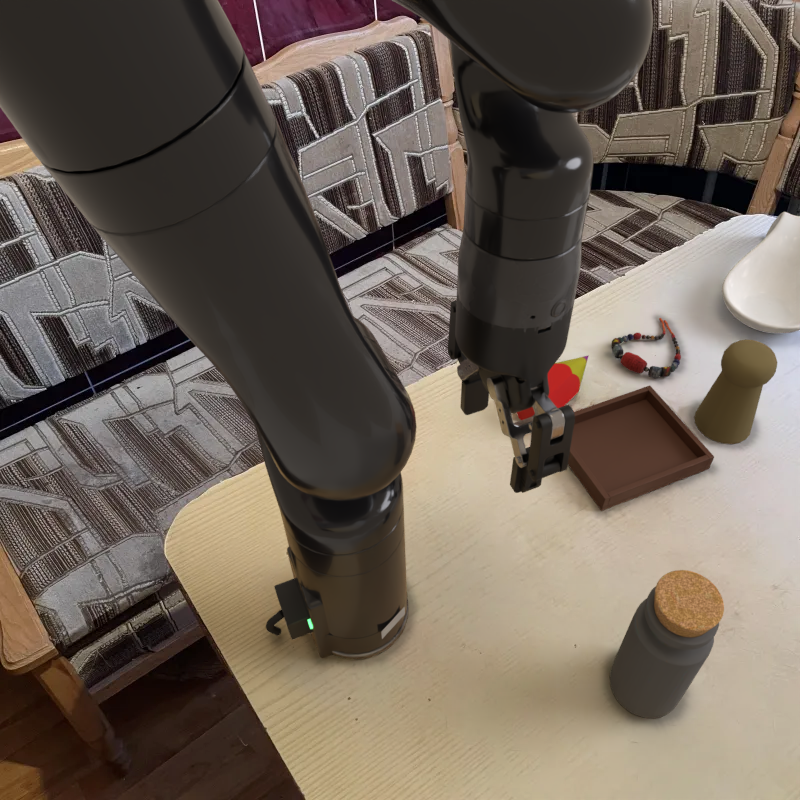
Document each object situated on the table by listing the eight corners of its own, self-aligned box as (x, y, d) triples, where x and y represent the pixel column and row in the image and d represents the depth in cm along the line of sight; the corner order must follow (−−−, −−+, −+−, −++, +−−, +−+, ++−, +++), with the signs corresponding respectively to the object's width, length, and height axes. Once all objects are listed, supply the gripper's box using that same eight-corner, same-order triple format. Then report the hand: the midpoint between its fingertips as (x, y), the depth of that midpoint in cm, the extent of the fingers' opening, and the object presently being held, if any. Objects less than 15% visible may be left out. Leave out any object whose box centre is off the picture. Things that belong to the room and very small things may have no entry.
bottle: (681, 725, 62) (737, 645, 51) (608, 711, 63) (647, 629, 52) (678, 657, 66) (729, 569, 55) (609, 645, 67) (646, 556, 55)
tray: (601, 511, 76) (605, 499, 75) (544, 433, 83) (547, 420, 82) (709, 469, 79) (714, 456, 78) (645, 397, 86) (650, 384, 85)
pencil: (603, 377, 89) (610, 351, 86) (545, 434, 83) (551, 408, 80) (568, 359, 91) (574, 333, 88) (509, 413, 85) (513, 386, 82)
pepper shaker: (729, 397, 86) (761, 324, 78) (762, 435, 82) (799, 363, 74) (683, 410, 85) (710, 338, 77) (714, 450, 81) (746, 378, 73)
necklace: (598, 357, 91) (602, 344, 89) (643, 317, 97) (648, 304, 96) (658, 390, 87) (664, 377, 86) (701, 346, 93) (706, 333, 92)
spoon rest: (809, 358, 90) (832, 312, 85) (706, 333, 94) (722, 286, 88) (825, 250, 104) (846, 205, 99) (736, 232, 108) (751, 187, 103)
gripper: (417, 240, 52) (418, 400, 64) (518, 375, 43) (498, 533, 55) (514, 213, 54) (498, 374, 65) (630, 338, 45) (587, 498, 56)
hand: (498, 446), depth 60 cm, fingers open, 8 cm apart
